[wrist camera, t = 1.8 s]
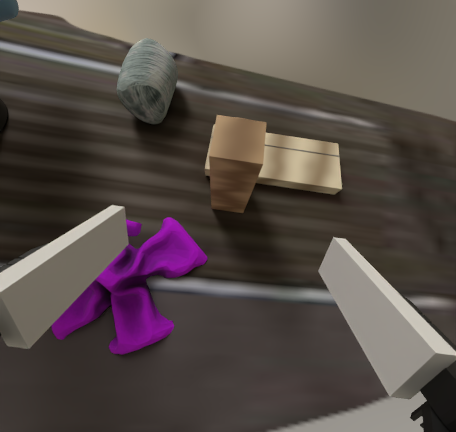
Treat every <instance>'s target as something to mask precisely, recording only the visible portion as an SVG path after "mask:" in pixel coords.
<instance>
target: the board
mask: <svg viewBox="0 0 456 432" xmlns="http://www.w3.org/2000/svg"><path fill="white" fill-rule="evenodd" d="M214 128H215V125H213V130H212V135H211V140H210V145H209V150H208V155H207V160H206V165H205V176H210V166H209V154H210V149H211V144H212V138H213V133H214ZM256 183H259V184H266V185H273V186H280V187H286V188H293V189H300V190H307V191H313V192H320V193H327V194H334V195H335V194H336V193H337V192H339V191H340V190H341V189H342V183H341V172H340V161H339V149H338V144H337V143H330V142H324V141H317V140H310V139H304V138H297V137H291V136H284V135H278V134H271V133H266V135H265V148H264V161H263V166H262V168H261V171H260V173H259V176H258V178H257V181H256Z"/></svg>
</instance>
